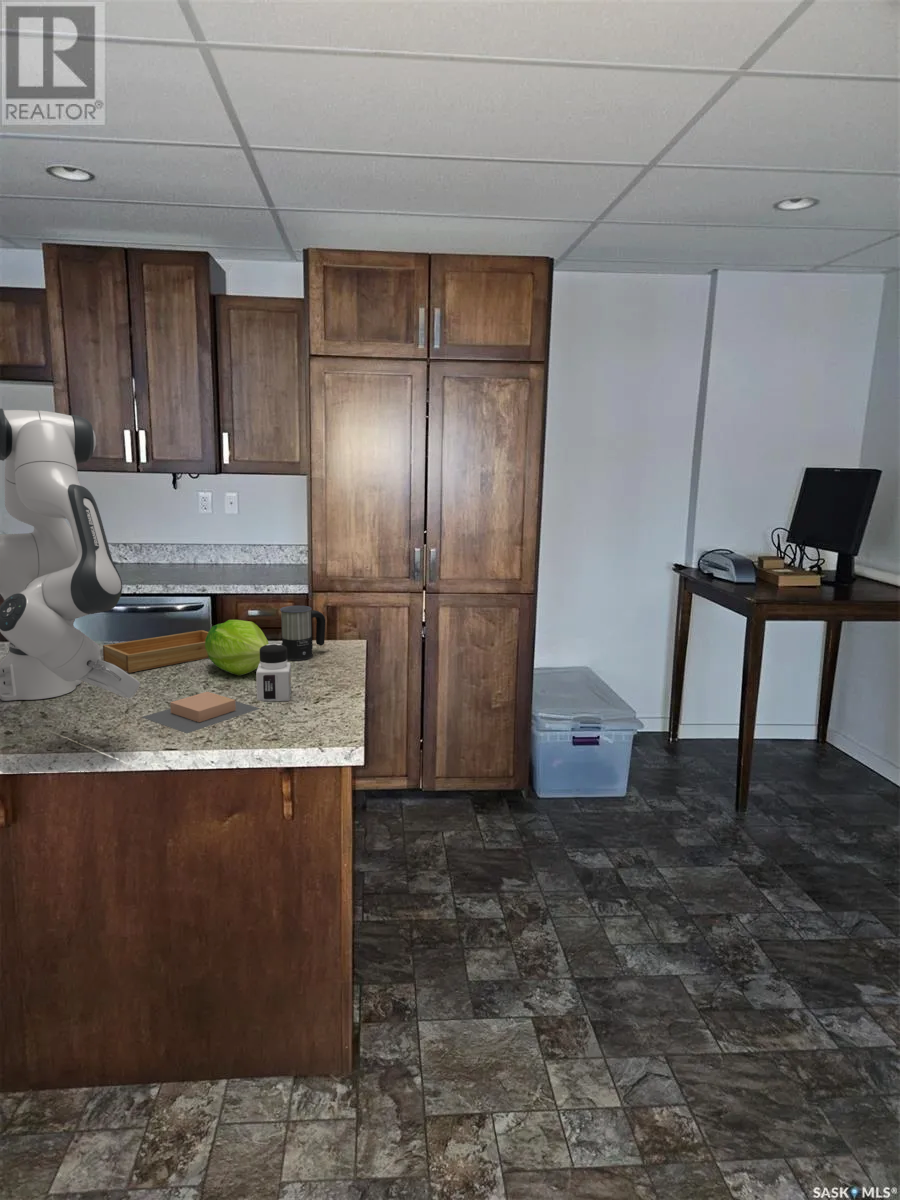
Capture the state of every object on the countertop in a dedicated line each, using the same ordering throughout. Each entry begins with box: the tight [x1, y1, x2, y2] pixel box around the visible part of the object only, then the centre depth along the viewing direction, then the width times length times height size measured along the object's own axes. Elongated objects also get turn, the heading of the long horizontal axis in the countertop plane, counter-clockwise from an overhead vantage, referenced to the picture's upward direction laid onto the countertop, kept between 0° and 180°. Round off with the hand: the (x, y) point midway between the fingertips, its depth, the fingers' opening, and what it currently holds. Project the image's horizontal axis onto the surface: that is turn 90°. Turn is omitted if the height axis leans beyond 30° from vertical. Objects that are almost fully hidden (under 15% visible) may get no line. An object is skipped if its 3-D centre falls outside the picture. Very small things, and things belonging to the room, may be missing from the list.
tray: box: [102, 629, 209, 674], centre depth 212 cm, size 31×15×6 cm, turn 139°
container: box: [255, 643, 292, 703], centre depth 179 cm, size 8×8×13 cm
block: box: [169, 691, 236, 722], centre depth 167 cm, size 10×3×10 cm
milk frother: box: [279, 605, 326, 662], centre depth 220 cm, size 14×16×15 cm
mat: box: [141, 700, 261, 734], centre depth 167 cm, size 16×20×1 cm
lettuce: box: [205, 619, 269, 676], centre depth 200 cm, size 15×23×16 cm
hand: (124, 693), depth 150 cm, fingers closed
